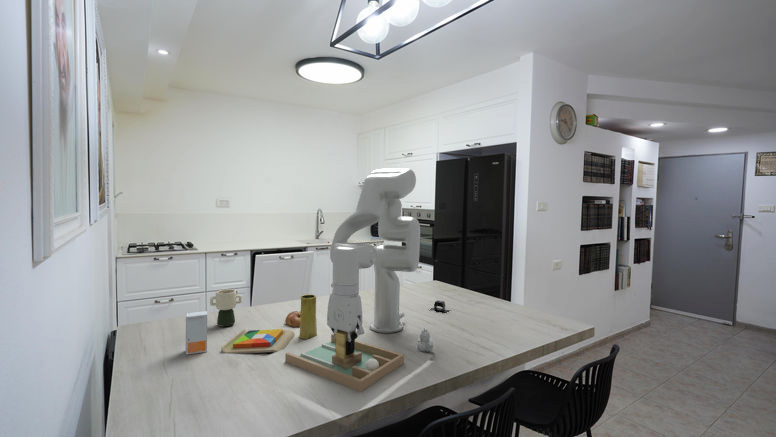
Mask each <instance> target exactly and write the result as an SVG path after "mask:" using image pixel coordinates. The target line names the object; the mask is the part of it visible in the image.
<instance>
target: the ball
mask: <svg viewBox="0 0 776 437" xmlns="http://www.w3.org/2000/svg"><path fill="white" fill-rule="evenodd" d="M378 368H379V363H378V361H377V360H376V359H373V358H372V359H369V360H368V361H367V362H366V369H367V370H368V371H371V372H373V371H374V370H376V369H378Z"/></svg>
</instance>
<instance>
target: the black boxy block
mask: <svg viewBox="0 0 776 437" xmlns="http://www.w3.org/2000/svg"><path fill="white" fill-rule="evenodd" d="M430 308H431V307H430ZM430 308H429V309H430ZM429 309H428V310H429ZM433 311H436V313H439V312H442V313H441V314H445V313H447V312H449V311H451V312H452V310H449V309H446V302H445V301H444V300H436V301H434V304H433V308H431V309H430V310H429V312H433ZM449 313H450V312H449Z"/></svg>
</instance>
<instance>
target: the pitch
mask: <svg viewBox="0 0 776 437" xmlns="http://www.w3.org/2000/svg"><path fill="white" fill-rule="evenodd" d="M357 352H362V361H361V362H359V363H357V364H355V365H353V366H352V367H350V368H348V369H346V370H345V369H343V367H342V366H339V365H336V364H334V363H332V356H333V355H335V354H336V351H335V337H334V333H331V336H330V341H329V342H327V343H321V345H320V346H318V347H316V348H313V349H311V350H309V351H306V352H300V354H299V355H297V354H294V353H291V352H286V353H285V356H284V358H285V363H288V364H290V365H292V366H295V367H296V368H297V367H298V368H300V369H302V370H305V371H308V372H310V373H312V374H315V375H318V376H320V377H322V378H325V379H328V380H330V381H333V382H335V383H337V384H340V385H342V386H345V387H348V388H350V389H352V390H355V391H357V392H360V393H362V392H363V391H364V390H365V389H367V388H369V387H370V386H372V385H373V384H375V383H376V382H378V381H379V380H381V379H382V378H384V377H385V376H387V375H388V374H389V373H391V372H393V371H394V370H396V369H398V368H399V367H400V366H401V365H403V364H404V363H405V354H402V353H399V352H396V351H392V350H389V349H387V348H382V347H379V346H376V345H373V344H369V343H366V342H362V341H359V340H357V339H355V351H354V353H355V354H356V353H357ZM372 358H373V359H376V360H377V361H378V363H379V368H378V369H376V370H374V371H373V372H371V371H368V370H367V369H366V362H367V361H368V360H369V359H372Z"/></svg>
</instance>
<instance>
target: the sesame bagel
mask: <svg viewBox="0 0 776 437" xmlns="http://www.w3.org/2000/svg"><path fill="white" fill-rule="evenodd" d="M300 318H301V310H300V311H298V310H296V311H295V310H294V311H291V312H288V314H287V316H286V317H285V322H284V323H285V324H286V325H287V326H289V327H293V328H300Z"/></svg>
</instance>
